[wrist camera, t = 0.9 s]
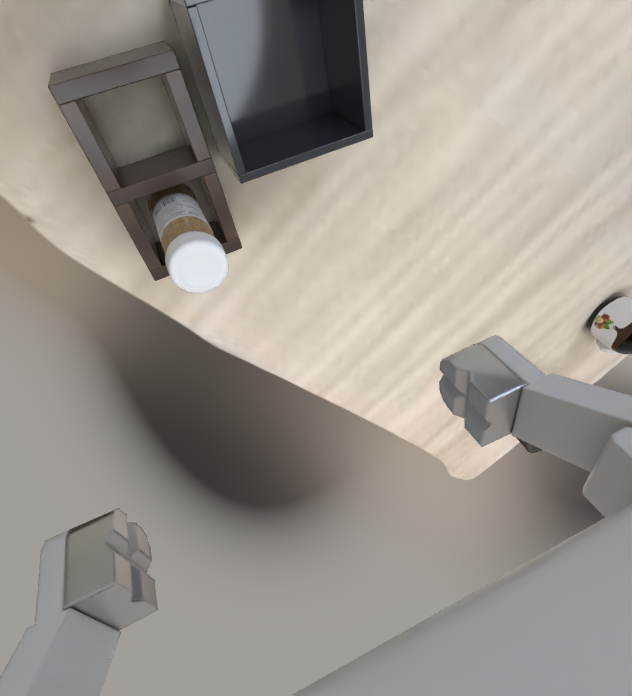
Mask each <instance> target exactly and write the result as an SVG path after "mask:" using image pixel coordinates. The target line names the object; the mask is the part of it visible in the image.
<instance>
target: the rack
mask: <svg viewBox="0 0 632 696" xmlns="http://www.w3.org/2000/svg"><path fill="white" fill-rule="evenodd" d="M157 75H161V77H162V80H163V83H164V85H165V88H166V90H167V93H168V96H169V98H170V101H171V104H172V106H173V109H174V112H175V114H176V117H177V120H178V122H179V125H180V127H181V130H182V133H183V135H184V138H185V141H186V143H187V145H186V146H183V147H180V148H177V149H174V150H171V151H168V152H165V153H162V154H159V155H156V156H153V157H150V158H147V159H144V160H141V161H138V162H135V163H132V164H129V165H126V166H123V167H120V168H117V167H116V165H115V163H114V161H113V159H112V157H111V155H110V153H109V151H108V149H107V147H106V145H105V143H104V141H103V139H102V137H101V135H100V133H99V131H98V130H97V128H96V126H95V124H94V122H93V120H92V118H91V116H90V114H89V112H88V110H87V108H86V106H85V104H84V102H83V100H82V98H84V97H88V96H91V95H94V94H98V93H101V92H104V91H107V90H111V89H114V88H117V87H121V86H124V85H127V84H131V83H134V82H137V81H141V80H144V79H147V78H151V77H154V76H157ZM48 88H49V89H50V91H51V93H52V95H53V97H54V99H55V100H56V102H57V104H58V105H59V108H60V109H61V111H62V113H63V115H64V117H65V118H66V120H67V122H68V124H69V126H70V127H71V129H72V131H73V133H74V135H75V137H76V138H77V140H78V142H79V144H80V146H81V147H82V149H83V151H84V153H85V155H86V156H87V158H88V160H89V162H90V164H91V166H92V167H93V169H94V171H95V173H96V175H97V176H98V178H99V180H100V182H101V184H102V185H103V187H104V189H105V191H106V192H107V195H108V196H109V198H110V200H111V202H112V204H113V205H114V207H115V209H116V211H117V213H118V214H119V216H120V218H121V220H122V222H123V224H124V225H125V227H126V229H127V231H128V233H129V234H130V236H131V238H132V240H133V242H134V243H135V245H136V247H137V249H138V251H139V253H140V254H141V256H142V258H143V260H144V262H145V263H146V265H147V267H148V269H149V270H150V272H151V274H152V276H153V278H154V280H155V281H157V280H159V279H162V278H164V277H167V276H170V275H169V272H168V269H167V266H166V262H165V256H166V255H165V252H164V249H163V246H162V244H161V241H159V242H156V243H155V241H154V239H153V237H152V235H151V233H150V231H149V229H148V227H147V225H146V223H145V222H144V220H143V218H142V216H141V214H140V212H139V210H138V208H137V206H136V204H135V202H134V200H135V199H138V198H141V197H144V196H147V195H150V194H153V193H156V192H158V191H161V190H164V189H167V188H170V187H173V186H176V185H179V184H182V183H184V182H187V181H190V180H193V179H196V178H200V180H201V183H202V186H203V188H204V191H205V194H206V196H207V199H208V201H209V204H210V207H211V209H212V212H213V215H214V217H215V220H216V221H214V222H211V223H208V224H209V225H210V227H211V229H212V232H213V235H214V237H215V238H216V239H217V240H218V241H219V242H220V244H221V245H222V247H223V249H224V251H225V253H226V254H228V253H230V252H233V251H236V250H238V249H241V248H242V245H241V242H240V239H239V237H238V234H237V231H236V228H235V225H234V222H233V219H232V216H231V213H230V211H229V208H228V205H227V202H226V199H225V196H224V193H223V190H222V187H221V185H220V182H219V179H218V176H217V173H216V170H215V167H214V164H213V161H212V158H211V156H210V153H209V150H208V147H207V144H206V141H205V138H204V135H203V133H202V130H201V127H200V124H199V121H198V118H197V115H196V112H195V109H194V106H193V104H192V101H191V98H190V95H189V92H188V89H187V86H186V83H185V80H184V78H183V75H182V72H181V69H180V66H179V63H178V60H177V57H176V54H175V52H174V49H172V48H171V47H170V46H169V45H168V44H167V43H166V42H164V41H162V42H158V43H155V44H151V45H148V46H144V47H141V48H137V49H134V50H130V51H127V52H123V53H120V54H117V55H113V56H110V57H106V58H103V59H99V60H96V61H92V62H89V63H85V64H82V65H78V66H75V67H72V68H68V69H65V70H61V71H58V72H54V73H51V76H50V80H49V84H48Z"/></svg>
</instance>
